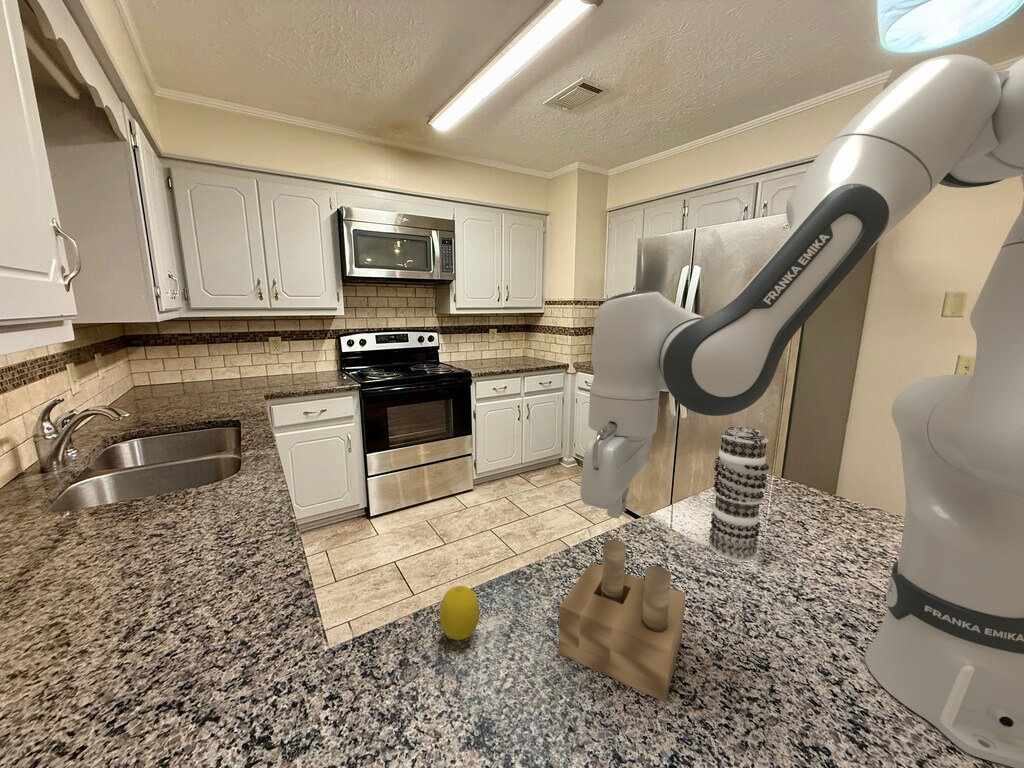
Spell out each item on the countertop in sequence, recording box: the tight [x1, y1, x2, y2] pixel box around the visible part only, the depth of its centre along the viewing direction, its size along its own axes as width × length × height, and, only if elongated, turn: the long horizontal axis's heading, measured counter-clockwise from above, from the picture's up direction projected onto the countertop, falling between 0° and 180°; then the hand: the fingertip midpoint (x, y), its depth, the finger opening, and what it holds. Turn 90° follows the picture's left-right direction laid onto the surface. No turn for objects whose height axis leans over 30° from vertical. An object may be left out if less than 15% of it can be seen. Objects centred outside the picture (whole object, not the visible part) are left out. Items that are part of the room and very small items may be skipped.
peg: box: [601, 538, 626, 604], centre depth 58 cm, size 3×3×12 cm
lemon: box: [439, 585, 480, 641], centre depth 57 cm, size 6×6×8 cm
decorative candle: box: [708, 426, 770, 563], centre depth 80 cm, size 9×9×25 cm
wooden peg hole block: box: [557, 562, 686, 703], centre depth 56 cm, size 14×12×14 cm
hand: (616, 513), depth 56 cm, fingers closed
